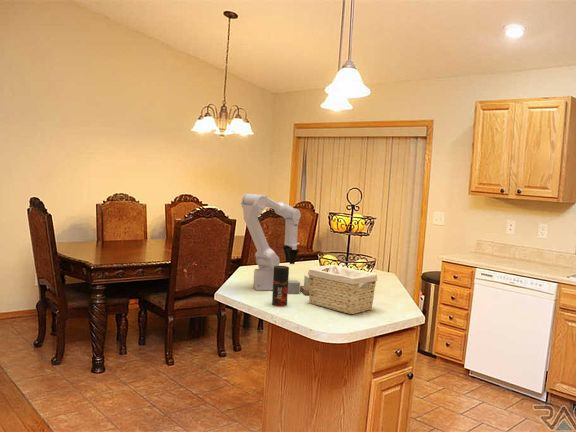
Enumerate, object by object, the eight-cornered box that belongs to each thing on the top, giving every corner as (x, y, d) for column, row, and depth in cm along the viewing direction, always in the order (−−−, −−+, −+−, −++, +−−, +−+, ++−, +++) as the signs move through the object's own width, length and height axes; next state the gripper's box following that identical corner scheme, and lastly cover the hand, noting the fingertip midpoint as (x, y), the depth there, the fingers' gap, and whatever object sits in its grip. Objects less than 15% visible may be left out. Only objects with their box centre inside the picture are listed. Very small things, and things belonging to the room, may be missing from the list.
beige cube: (307, 289, 211) (308, 277, 210) (303, 286, 216) (304, 275, 215) (318, 288, 212) (319, 277, 212) (314, 286, 217) (315, 275, 217)
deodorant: (274, 306, 189) (276, 268, 188) (270, 302, 195) (272, 265, 194) (288, 306, 191) (290, 268, 190) (284, 302, 197) (286, 265, 195)
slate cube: (288, 294, 211) (288, 282, 210) (285, 291, 215) (286, 280, 215) (299, 294, 212) (300, 282, 211) (296, 291, 217) (297, 280, 216)
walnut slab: (304, 296, 209) (305, 290, 209) (299, 292, 217) (300, 285, 217) (322, 296, 211) (322, 289, 211) (316, 292, 219) (317, 285, 219)
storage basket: (304, 302, 198) (306, 267, 197) (330, 297, 209) (332, 263, 208) (351, 317, 181) (353, 277, 180) (376, 310, 192) (379, 273, 191)
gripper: (303, 235, 222) (302, 265, 223) (295, 231, 236) (294, 259, 237) (288, 235, 220) (287, 265, 221) (281, 231, 234) (280, 259, 235)
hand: (290, 262), depth 229 cm, fingers open, 7 cm apart
